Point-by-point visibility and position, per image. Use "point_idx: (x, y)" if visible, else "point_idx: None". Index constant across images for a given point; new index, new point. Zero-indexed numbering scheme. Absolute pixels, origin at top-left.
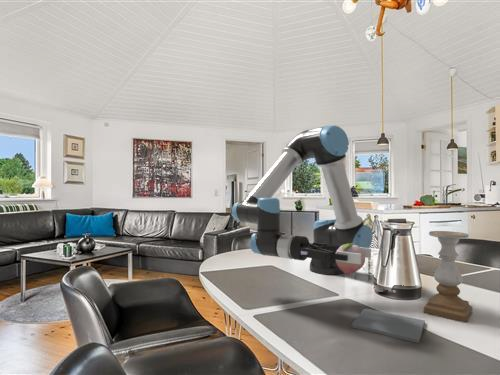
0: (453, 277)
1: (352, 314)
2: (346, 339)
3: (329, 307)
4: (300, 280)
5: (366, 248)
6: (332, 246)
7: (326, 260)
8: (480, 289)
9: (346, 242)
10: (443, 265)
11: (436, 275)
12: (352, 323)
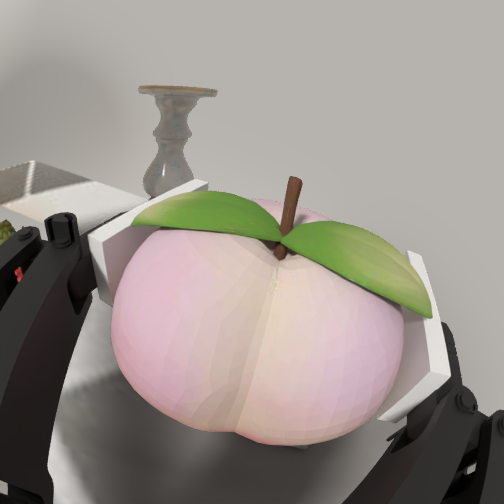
0: (193, 177)
1: (198, 436)
2: (380, 455)
3: (140, 493)
4: None
5: (196, 189)
6: (14, 376)
7: (464, 469)
8: (81, 185)
9: None
10: (174, 159)
11: (168, 187)
12: (304, 445)
